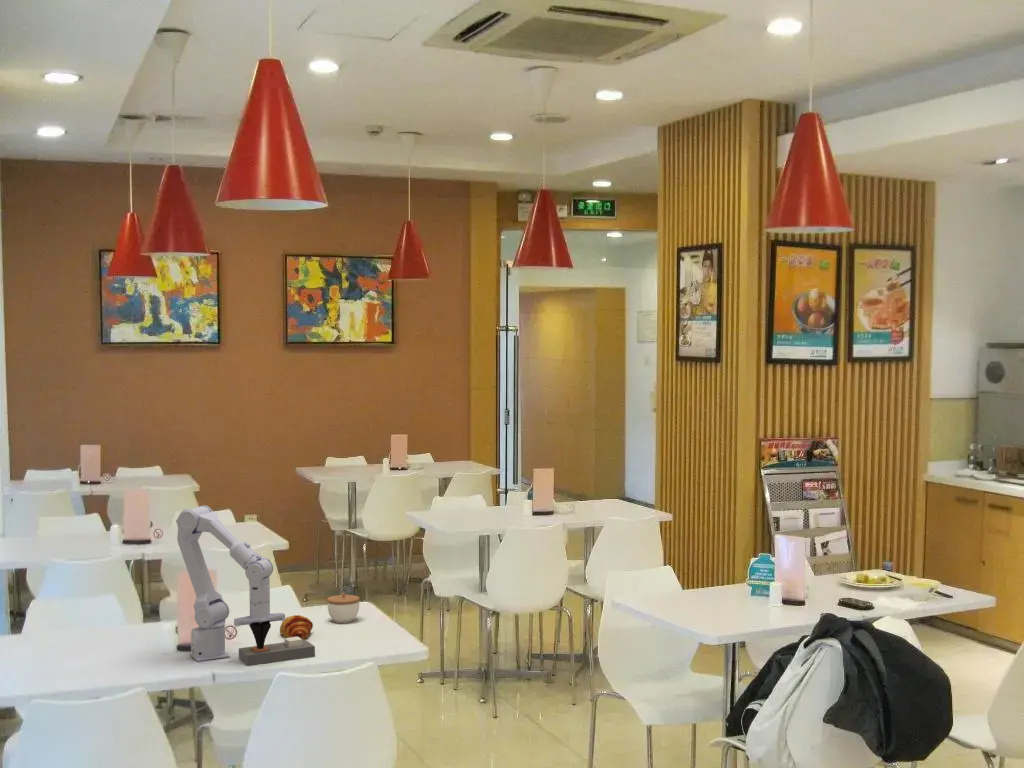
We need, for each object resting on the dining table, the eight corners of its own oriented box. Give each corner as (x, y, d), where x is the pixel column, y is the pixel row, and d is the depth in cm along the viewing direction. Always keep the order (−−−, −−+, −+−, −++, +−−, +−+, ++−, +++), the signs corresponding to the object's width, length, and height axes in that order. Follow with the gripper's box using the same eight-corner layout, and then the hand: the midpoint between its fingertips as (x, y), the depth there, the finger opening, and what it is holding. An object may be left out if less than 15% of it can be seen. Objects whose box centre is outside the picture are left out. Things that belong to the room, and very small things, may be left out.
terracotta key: (255, 660, 308) (255, 650, 308) (251, 657, 311) (251, 647, 311) (268, 658, 310) (268, 648, 310) (264, 655, 313) (264, 645, 313)
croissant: (283, 638, 349) (271, 618, 347) (310, 622, 352) (298, 601, 351) (292, 653, 329) (279, 631, 328) (321, 635, 332) (308, 614, 331)
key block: (247, 665, 304) (247, 655, 304) (238, 658, 312) (238, 648, 312) (314, 656, 314) (314, 646, 314) (304, 649, 322) (304, 639, 322)
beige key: (289, 651, 313) (288, 641, 313) (284, 648, 316) (284, 638, 316) (302, 649, 315) (302, 639, 315) (297, 646, 318) (297, 636, 318)
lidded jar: (325, 618, 361) (325, 591, 361) (356, 616, 365) (356, 588, 364) (329, 625, 351) (329, 597, 351) (362, 623, 354) (362, 595, 354)
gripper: (238, 606, 303) (238, 654, 303) (288, 601, 310) (288, 647, 310) (231, 602, 309) (232, 648, 309) (280, 596, 316) (281, 642, 317)
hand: (260, 647), depth 310 cm, fingers closed, pressing on terracotta key
